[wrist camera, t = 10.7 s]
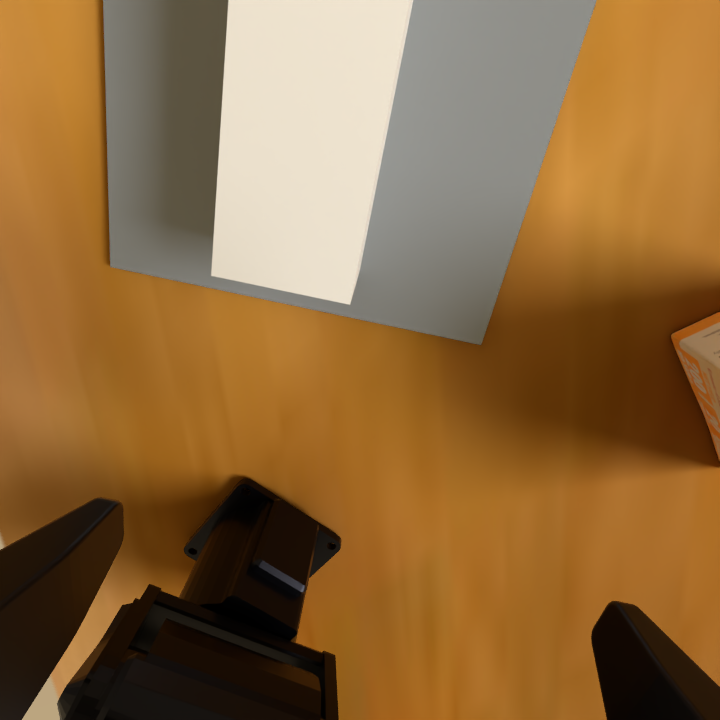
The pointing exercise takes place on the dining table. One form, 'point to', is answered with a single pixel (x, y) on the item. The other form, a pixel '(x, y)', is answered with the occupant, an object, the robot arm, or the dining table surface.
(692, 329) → the supplement box
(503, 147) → the mat
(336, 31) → the block
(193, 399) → the dining table surface
